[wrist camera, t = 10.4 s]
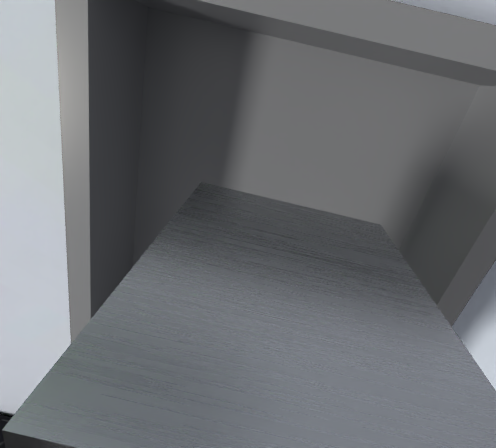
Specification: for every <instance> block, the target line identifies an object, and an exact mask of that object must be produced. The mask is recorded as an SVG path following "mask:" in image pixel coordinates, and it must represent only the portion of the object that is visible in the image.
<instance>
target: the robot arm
mask: <svg viewBox="0 0 496 448" xmlns="http://www.w3.org/2000/svg"><path fill="white" fill-rule="evenodd" d="M10 419H11V417H7V416H3V415H0V448H6V447H5V443H4V438H3V433H2V429H3V428H4V427H5V425H6V424H7V423H8V422H9V420H10Z"/></svg>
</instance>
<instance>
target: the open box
mask: <svg viewBox="0 0 496 448" xmlns="http://www.w3.org/2000/svg"><path fill="white" fill-rule="evenodd" d="M55 12H56V34H57V55H58V76H59V98H60V119H61V141H62V162H63V183H64V205H65V226H66V247H67V269H68V290H69V311H70V333H71V343H72V342H73V341H74V340H75V338H76V337H77V336H78V335H79V333H80V332H81V331H82V330H83V328H84V327H85V326H86V325H87V323H88V322H89V321H90V320H91V318H92V317H93V316H94V315H95V313H96V312H97V311H98V310H99V308H100V307H101V306H102V305H103V303H104V302H105V301H106V300H107V299H108V297H109V296H110V295H111V294H112V292H113V291H114V290H115V289H116V287H117V286H118V285H119V284H120V282H121V281H122V280H123V279H124V277H125V276H126V275H127V274H128V272H129V271H130V270H131V269H132V267H133V266H134V265H135V264H136V262H137V261H138V260H139V259H140V257H141V256H142V255H143V254H144V252H145V251H146V250H147V249H148V247H149V246H150V245H151V244H152V243H153V241H154V240H155V239H156V238H157V236H158V235H159V234H160V233H161V231H162V230H163V229H164V228H165V226H166V225H167V224H168V223H169V221H170V220H171V219H172V218H173V216H174V215H175V214H176V213H177V211H178V210H179V209H180V208H181V206H182V205H183V204H184V203H185V201H186V200H187V199H188V198H189V196H190V195H191V194H192V193H193V191H194V190H195V189H196V188H197V187H198V185H199V184H200V183H201V182H203V183H208V184H212V185H216V186H220V187H225V188H229V189H233V190H237V191H242V192H246V193H250V194H254V195H259V196H263V197H267V198H271V199H275V200H280V201H284V202H288V203H292V204H297V205H301V206H305V207H309V208H314V209H318V210H322V211H326V212H331V213H335V214H339V215H343V216H347V217H352V218H356V219H360V220H364V221H369V222H373V223H377V224H381V226H382V227H383V228H384V230H385V231H386V233H387V234H388V236H389V237H390V239H391V240H392V241H393V243H394V244H395V246H396V247H397V249H398V250H399V252H400V253H401V255H402V256H403V257H404V259H405V260H406V262H407V263H408V265H409V266H410V268H411V269H412V270H413V272H414V273H415V275H416V276H417V278H418V279H419V281H420V282H421V283H422V285H423V286H424V288H425V289H426V291H427V292H428V294H429V295H430V296H431V298H432V299H433V301H434V302H435V304H436V305H437V307H438V308H439V310H440V311H441V312H442V314H443V315H444V317H445V318H446V320H447V321H448V323H449V324H450V325H451V327H452V325H453V324H454V322H455V321H456V319H457V318H458V316H459V315H460V313H461V312H462V310H463V309H464V307H465V306H466V304H467V302H468V301H469V299H470V298H471V296H472V295H473V293H474V292H475V290H476V289H477V287H478V286H479V284H480V283H481V281H482V280H483V278H484V277H485V275H486V274H487V272H488V271H489V269H490V268H491V266H492V264H493V263H494V261H495V260H496V25H492V24H488V23H484V22H479V21H475V20H471V19H467V18H462V17H458V16H454V15H450V14H445V13H441V12H437V11H433V10H428V9H424V8H420V7H416V6H412V5H407V4H403V3H399V2H395V1H390V0H55Z"/></svg>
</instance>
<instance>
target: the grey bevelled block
mask: <svg viewBox="0 0 496 448" xmlns="http://www.w3.org/2000/svg"><path fill="white" fill-rule="evenodd" d="M2 433H3V438H4V443H5V447H6V448H496V391H495V389H494V388H493V386H492V385H491V383H490V382H489V380H488V379H487V378H486V376H485V375H484V373H483V372H482V370H481V369H480V367H479V366H478V365H477V363H476V362H475V360H474V359H473V357H472V356H471V354H470V353H469V351H468V350H467V349H466V347H465V346H464V344H463V343H462V341H461V340H460V338H459V337H458V336H457V334H456V333H455V331H454V330H453V328H452V327H451V325H450V324H449V323H448V321H447V320H446V318H445V317H444V315H443V314H442V312H441V311H440V310H439V308H438V307H437V305H436V304H435V302H434V301H433V299H432V298H431V296H430V295H429V294H428V292H427V291H426V289H425V288H424V286H423V285H422V283H421V282H420V281H419V279H418V278H417V276H416V275H415V273H414V272H413V270H412V269H411V268H410V266H409V265H408V263H407V262H406V260H405V259H404V257H403V256H402V255H401V253H400V252H399V250H398V249H397V247H396V246H395V244H394V243H393V241H392V240H391V239H390V237H389V236H388V234H387V233H386V231H385V230H384V228H383V227H382V226H381V224H377V223H373V222H369V221H364V220H360V219H356V218H352V217H347V216H343V215H339V214H335V213H331V212H326V211H322V210H318V209H314V208H309V207H305V206H301V205H297V204H292V203H288V202H284V201H280V200H275V199H271V198H267V197H263V196H259V195H254V194H250V193H246V192H242V191H237V190H233V189H229V188H225V187H220V186H216V185H212V184H208V183H203V182H201V183H200V184H199V185H198V187H197V188H196V189H195V190H194V191H193V193H192V194H191V195H190V196H189V198H188V199H187V200H186V201H185V203H184V204H183V205H182V206H181V208H180V209H179V210H178V211H177V213H176V214H175V215H174V216H173V218H172V219H171V220H170V221H169V223H168V224H167V225H166V226H165V228H164V229H163V230H162V231H161V233H160V234H159V235H158V236H157V238H156V239H155V240H154V241H153V243H152V244H151V245H150V246H149V247H148V249H147V250H146V251H145V252H144V254H143V255H142V256H141V257H140V259H139V260H138V261H137V262H136V264H135V265H134V266H133V267H132V269H131V270H130V271H129V272H128V274H127V275H126V276H125V277H124V279H123V280H122V281H121V282H120V284H119V285H118V286H117V287H116V289H115V290H114V291H113V292H112V294H111V295H110V296H109V297H108V299H107V300H106V301H105V302H104V303H103V305H102V306H101V307H100V308H99V310H98V311H97V312H96V313H95V315H94V316H93V317H92V318H91V320H90V321H89V322H88V323H87V325H86V326H85V327H84V328H83V330H82V331H81V332H80V333H79V335H78V336H77V337H76V338H75V340H74V341H73V342H72V343H71V345H70V346H69V347H68V348H67V350H66V351H65V352H64V353H63V355H62V356H61V357H60V358H59V359H58V361H57V362H56V363H55V364H54V366H53V367H52V368H51V369H50V371H49V372H48V373H47V374H46V376H45V377H44V378H43V379H42V381H41V382H40V383H39V384H38V386H37V387H36V388H35V389H34V391H33V392H32V393H31V394H30V396H29V397H28V398H27V399H26V401H25V402H24V403H23V404H22V406H21V407H20V408H19V409H18V411H17V412H16V413H15V414H14V415H13V417H12V418H11V419H10V420H9V422H8V423H7V424H6V425H5V427H4V428H3V429H2Z"/></svg>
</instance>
